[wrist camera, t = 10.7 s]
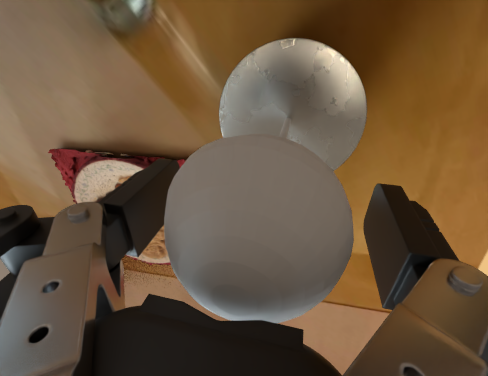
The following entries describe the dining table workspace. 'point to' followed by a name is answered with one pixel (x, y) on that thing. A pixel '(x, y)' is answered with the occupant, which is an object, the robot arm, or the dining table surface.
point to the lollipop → (257, 227)
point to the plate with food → (106, 185)
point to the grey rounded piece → (297, 98)
